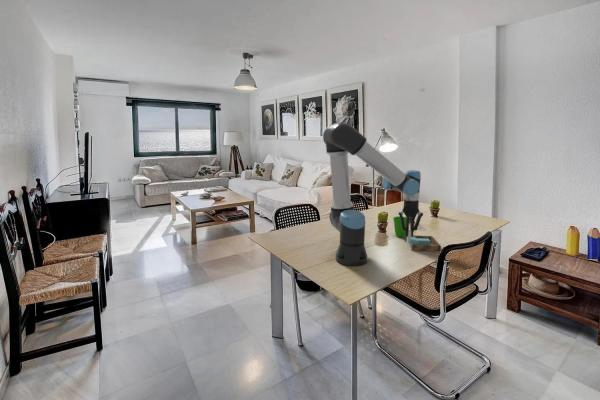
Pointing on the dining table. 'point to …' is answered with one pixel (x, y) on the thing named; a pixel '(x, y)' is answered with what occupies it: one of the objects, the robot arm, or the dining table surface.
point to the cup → (399, 226)
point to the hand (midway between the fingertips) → (408, 242)
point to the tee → (419, 241)
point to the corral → (433, 247)
